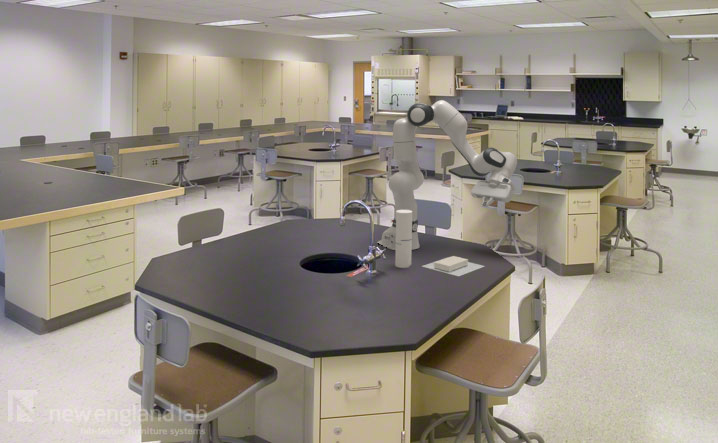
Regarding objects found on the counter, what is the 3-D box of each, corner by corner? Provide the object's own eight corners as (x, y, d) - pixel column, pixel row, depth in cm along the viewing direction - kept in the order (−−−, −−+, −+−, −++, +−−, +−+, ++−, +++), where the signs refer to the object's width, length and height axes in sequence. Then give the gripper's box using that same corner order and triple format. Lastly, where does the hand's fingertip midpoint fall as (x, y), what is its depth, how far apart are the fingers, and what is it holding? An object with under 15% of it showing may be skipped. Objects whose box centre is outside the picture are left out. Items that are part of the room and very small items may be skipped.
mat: (421, 267, 250) (421, 266, 250) (448, 258, 264) (448, 257, 264) (458, 278, 236) (458, 276, 236) (485, 267, 250) (485, 266, 250)
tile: (453, 261, 256) (434, 268, 247) (453, 255, 256) (434, 262, 246) (467, 265, 251) (449, 272, 241) (468, 259, 250) (449, 266, 241)
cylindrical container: (410, 268, 249) (411, 213, 244) (394, 267, 251) (395, 212, 245) (412, 263, 256) (413, 210, 251) (396, 262, 258) (397, 209, 252)
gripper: (476, 176, 270) (463, 198, 266) (514, 180, 256) (501, 204, 251) (480, 184, 274) (468, 206, 270) (518, 189, 260) (506, 213, 255)
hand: (484, 205), depth 260 cm, fingers closed
